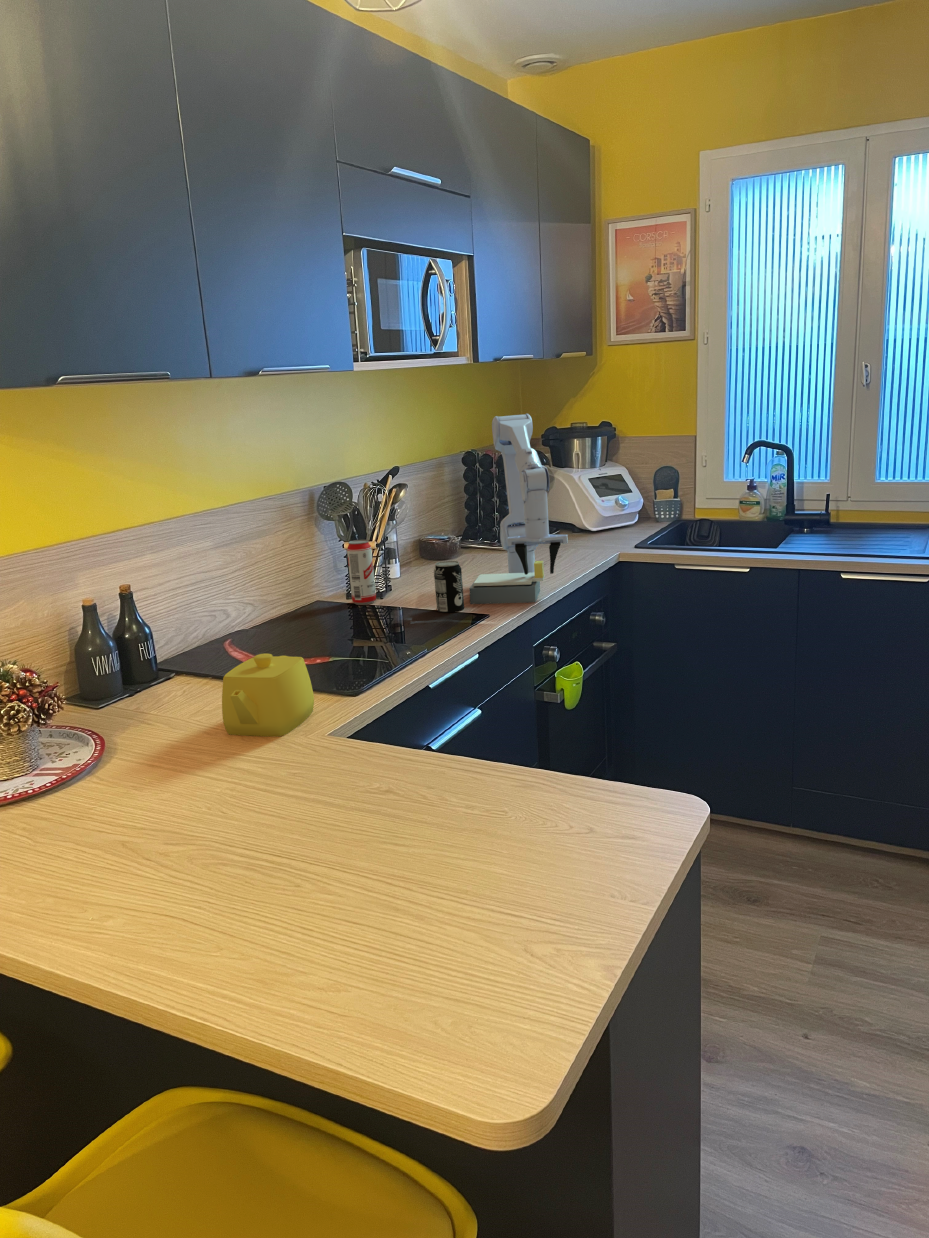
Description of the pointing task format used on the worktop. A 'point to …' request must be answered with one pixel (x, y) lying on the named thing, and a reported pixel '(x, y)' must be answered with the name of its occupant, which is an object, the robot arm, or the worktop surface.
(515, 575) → the lid
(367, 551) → the beer can
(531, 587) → the tub
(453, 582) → the beverage can
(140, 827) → the worktop surface
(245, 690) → the teapot
